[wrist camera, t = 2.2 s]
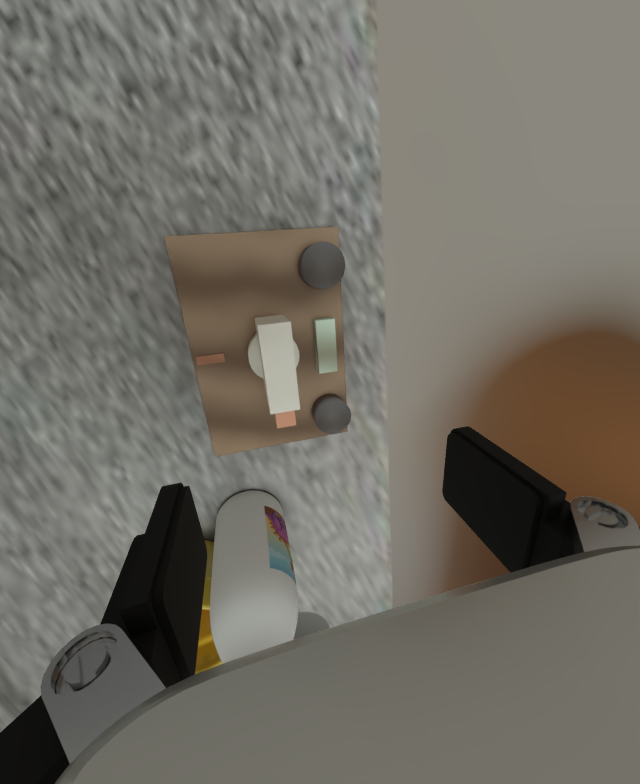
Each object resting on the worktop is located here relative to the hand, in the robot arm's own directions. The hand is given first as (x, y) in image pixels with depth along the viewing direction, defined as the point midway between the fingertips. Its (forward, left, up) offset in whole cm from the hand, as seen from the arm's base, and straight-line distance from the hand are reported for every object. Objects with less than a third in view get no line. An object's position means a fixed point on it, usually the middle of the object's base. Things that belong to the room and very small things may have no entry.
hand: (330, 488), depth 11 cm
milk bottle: (+20, -5, -22) cm, 30 cm away
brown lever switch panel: (0, 0, -22) cm, 22 cm away
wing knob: (0, 0, -20) cm, 20 cm away
